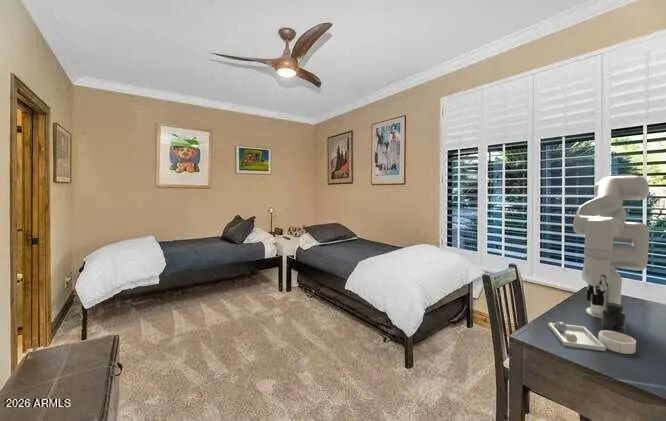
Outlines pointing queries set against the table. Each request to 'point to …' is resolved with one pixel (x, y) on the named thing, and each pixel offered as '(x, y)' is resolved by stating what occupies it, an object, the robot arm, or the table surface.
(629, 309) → the table surface
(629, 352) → the bowl
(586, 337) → the parts tray
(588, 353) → the table surface
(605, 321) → the supplement bottle
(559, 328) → the pebble
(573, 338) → the pebble
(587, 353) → the table surface
